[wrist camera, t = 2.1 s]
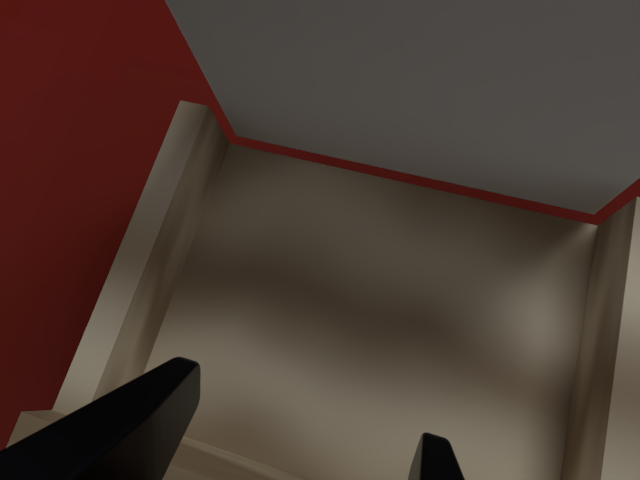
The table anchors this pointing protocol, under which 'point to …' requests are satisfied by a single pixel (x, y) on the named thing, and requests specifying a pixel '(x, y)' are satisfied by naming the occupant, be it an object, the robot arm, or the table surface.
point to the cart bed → (366, 322)
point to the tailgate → (436, 87)
